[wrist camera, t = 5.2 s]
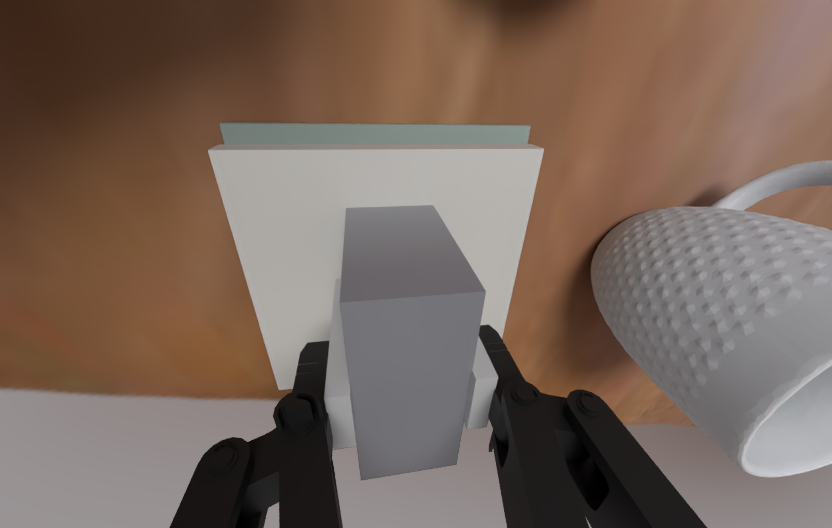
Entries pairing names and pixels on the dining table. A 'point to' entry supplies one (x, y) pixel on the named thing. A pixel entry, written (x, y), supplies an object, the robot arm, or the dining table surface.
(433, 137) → the mat
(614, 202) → the dining table surface
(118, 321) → the dining table surface
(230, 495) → the robot arm
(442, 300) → the lid
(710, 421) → the mug
